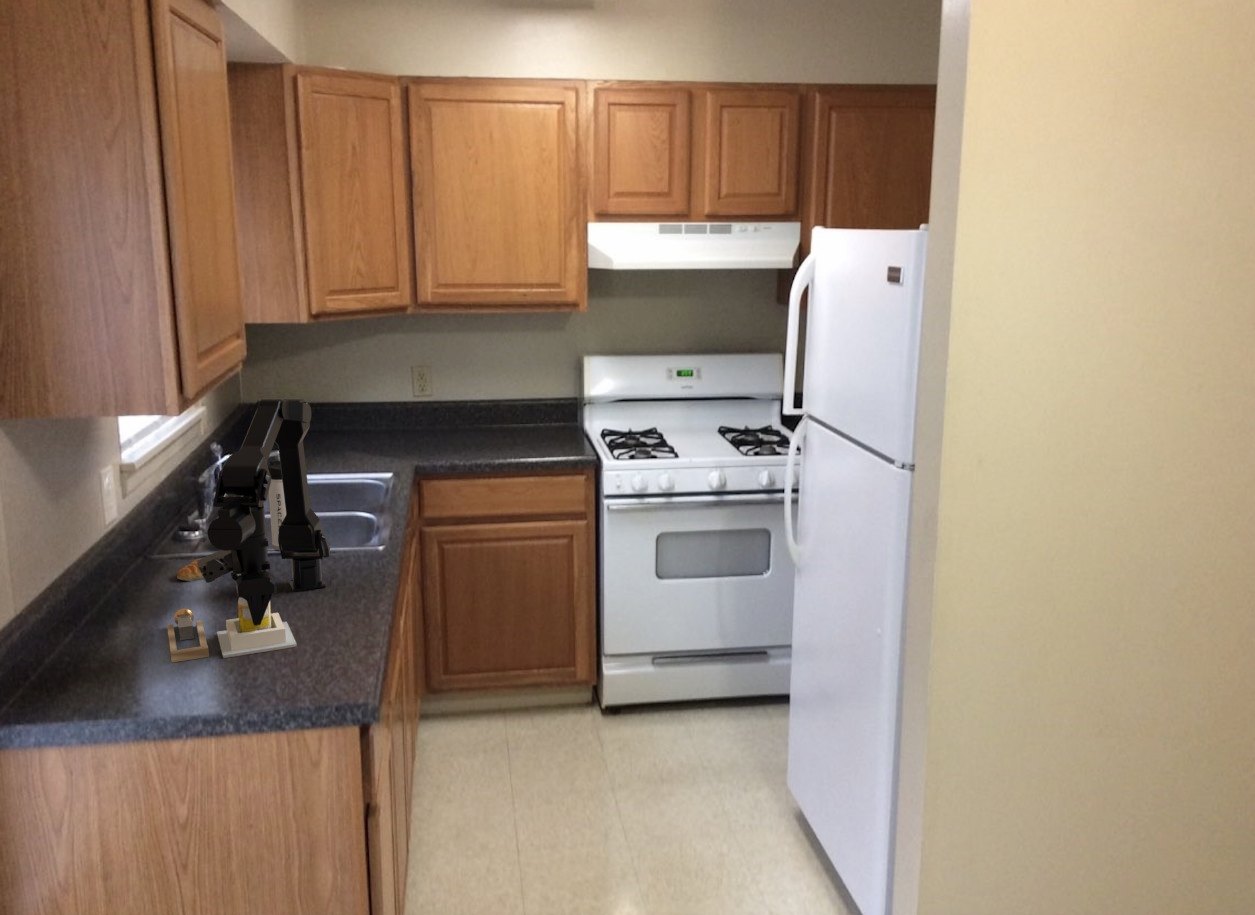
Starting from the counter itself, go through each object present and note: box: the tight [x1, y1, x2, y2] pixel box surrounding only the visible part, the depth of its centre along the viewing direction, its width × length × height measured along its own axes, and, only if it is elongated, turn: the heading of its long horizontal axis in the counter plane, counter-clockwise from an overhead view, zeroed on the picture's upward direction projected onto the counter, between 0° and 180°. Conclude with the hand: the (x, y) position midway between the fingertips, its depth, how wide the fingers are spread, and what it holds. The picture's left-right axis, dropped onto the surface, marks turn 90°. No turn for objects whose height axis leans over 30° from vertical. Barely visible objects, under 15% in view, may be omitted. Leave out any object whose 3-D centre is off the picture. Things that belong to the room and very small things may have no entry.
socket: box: [216, 612, 298, 659], centre depth 181 cm, size 12×12×3 cm
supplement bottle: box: [237, 597, 272, 633], centre depth 181 cm, size 5×5×10 cm
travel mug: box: [267, 459, 286, 551], centre depth 235 cm, size 6×7×20 cm
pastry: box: [176, 558, 205, 582], centre depth 216 cm, size 9×7×4 cm
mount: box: [166, 619, 210, 663], centre depth 180 cm, size 16×6×2 cm, turn 26°
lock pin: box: [173, 608, 195, 641], centre depth 185 cm, size 8×3×3 cm, turn 26°
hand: (254, 619), depth 181 cm, fingers open, 6 cm apart
